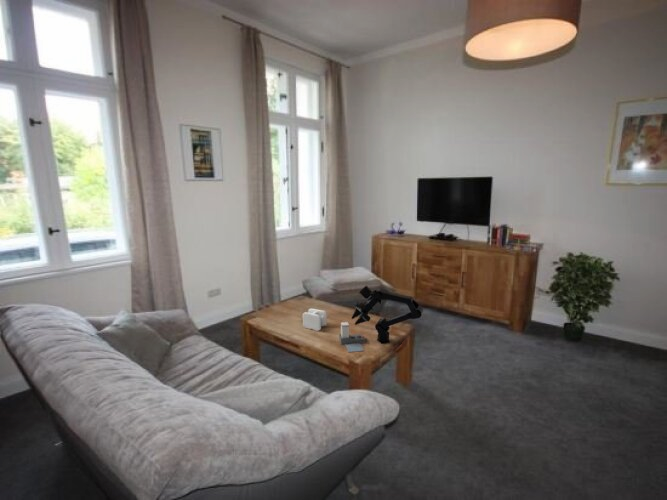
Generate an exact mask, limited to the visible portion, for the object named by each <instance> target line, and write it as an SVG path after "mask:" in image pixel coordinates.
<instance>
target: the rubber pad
mask: <svg viewBox="0 0 667 500" xmlns="http://www.w3.org/2000/svg"><path fill="white" fill-rule="evenodd" d="M344 345H345V347H346V350H347V352H348V353H355V352H356V353H357V352H365V349H364V347H363V346H362V343H353V344H344Z"/></svg>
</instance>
